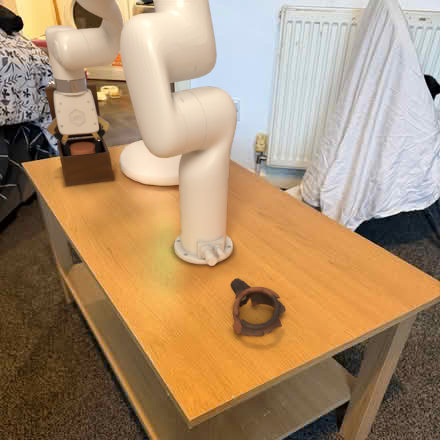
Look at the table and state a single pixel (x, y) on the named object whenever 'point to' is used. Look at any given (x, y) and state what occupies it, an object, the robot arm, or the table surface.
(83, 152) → the orange short cylinder
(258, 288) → the pottery mug
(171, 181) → the plate
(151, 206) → the table surface
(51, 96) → the lid
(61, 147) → the chest
